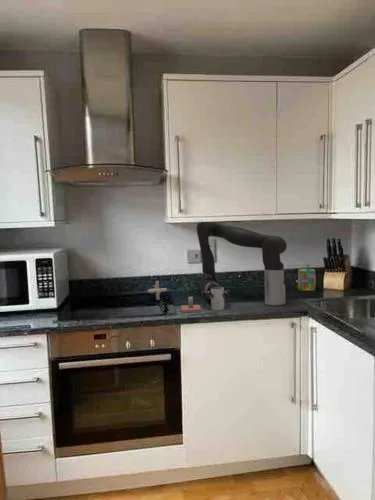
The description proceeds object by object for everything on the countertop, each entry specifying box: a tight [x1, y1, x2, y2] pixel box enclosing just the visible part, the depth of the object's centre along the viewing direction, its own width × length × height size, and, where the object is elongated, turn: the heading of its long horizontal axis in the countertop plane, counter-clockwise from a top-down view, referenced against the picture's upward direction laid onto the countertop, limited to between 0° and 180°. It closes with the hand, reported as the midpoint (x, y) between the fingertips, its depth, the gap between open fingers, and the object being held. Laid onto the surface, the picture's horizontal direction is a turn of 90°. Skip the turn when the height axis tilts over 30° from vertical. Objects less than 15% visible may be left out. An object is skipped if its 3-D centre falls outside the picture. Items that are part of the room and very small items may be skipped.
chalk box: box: [297, 263, 317, 292], centre depth 215 cm, size 9×9×15 cm
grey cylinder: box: [210, 286, 225, 311], centre depth 179 cm, size 6×6×10 cm
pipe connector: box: [147, 280, 168, 301], centre depth 203 cm, size 10×10×10 cm
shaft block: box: [180, 296, 202, 314], centre depth 178 cm, size 9×9×6 cm
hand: (218, 296), depth 178 cm, fingers open, 8 cm apart
